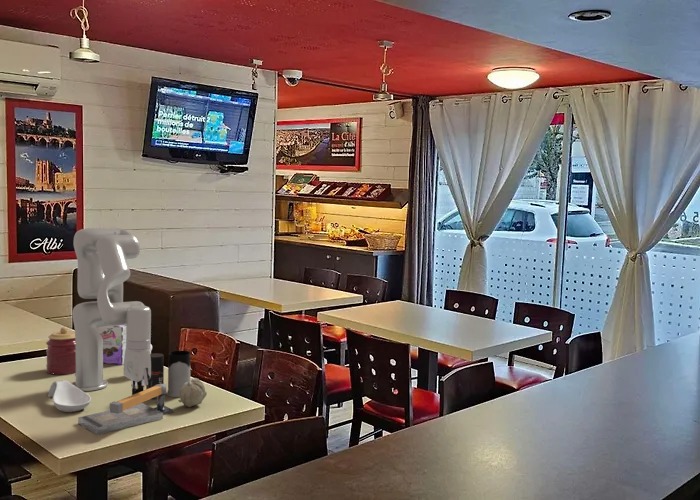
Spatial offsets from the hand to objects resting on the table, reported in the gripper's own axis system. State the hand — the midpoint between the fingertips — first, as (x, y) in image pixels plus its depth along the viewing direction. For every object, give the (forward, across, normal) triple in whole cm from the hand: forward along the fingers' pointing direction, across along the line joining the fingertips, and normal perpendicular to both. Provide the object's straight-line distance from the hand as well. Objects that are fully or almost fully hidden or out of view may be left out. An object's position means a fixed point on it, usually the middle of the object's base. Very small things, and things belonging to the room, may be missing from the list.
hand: (137, 399), depth 221 cm
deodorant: (+6, -15, +15) cm, 22 cm away
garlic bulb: (+6, +3, +19) cm, 20 cm away
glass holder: (+6, -15, +25) cm, 30 cm away
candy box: (+8, -69, +25) cm, 74 cm away
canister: (+8, -68, +5) cm, 69 cm away
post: (+6, +1, +8) cm, 10 cm away
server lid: (+6, +1, -6) cm, 8 cm away
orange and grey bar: (-1, +5, -2) cm, 5 cm away
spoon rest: (+7, -26, -12) cm, 30 cm away
